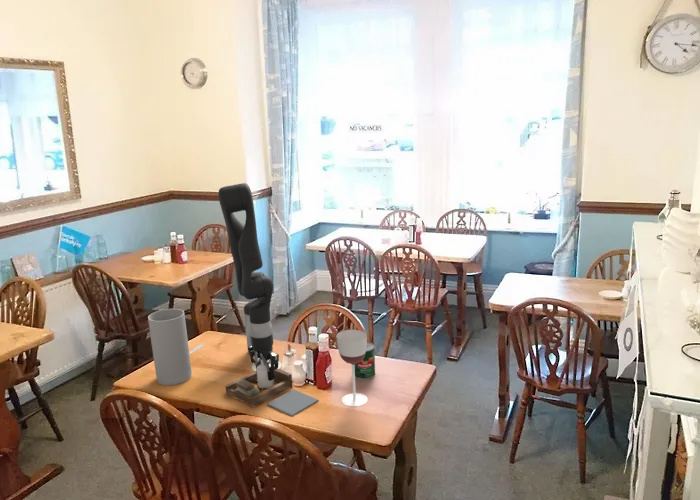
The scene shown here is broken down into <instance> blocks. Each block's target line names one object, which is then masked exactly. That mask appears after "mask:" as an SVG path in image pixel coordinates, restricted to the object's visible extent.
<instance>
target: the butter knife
mask: <svg viewBox="0 0 700 500" xmlns="http://www.w3.org/2000/svg"><path fill="white" fill-rule="evenodd" d="M204 346H205V344H204V343H201V344H199V345H198V346H197V345H196V346H195V347H194V348H192V349H191V350H189V355H191V354H192V353H194V352H196V351H198V350H199V349H201V348H202V347H204Z"/></svg>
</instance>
